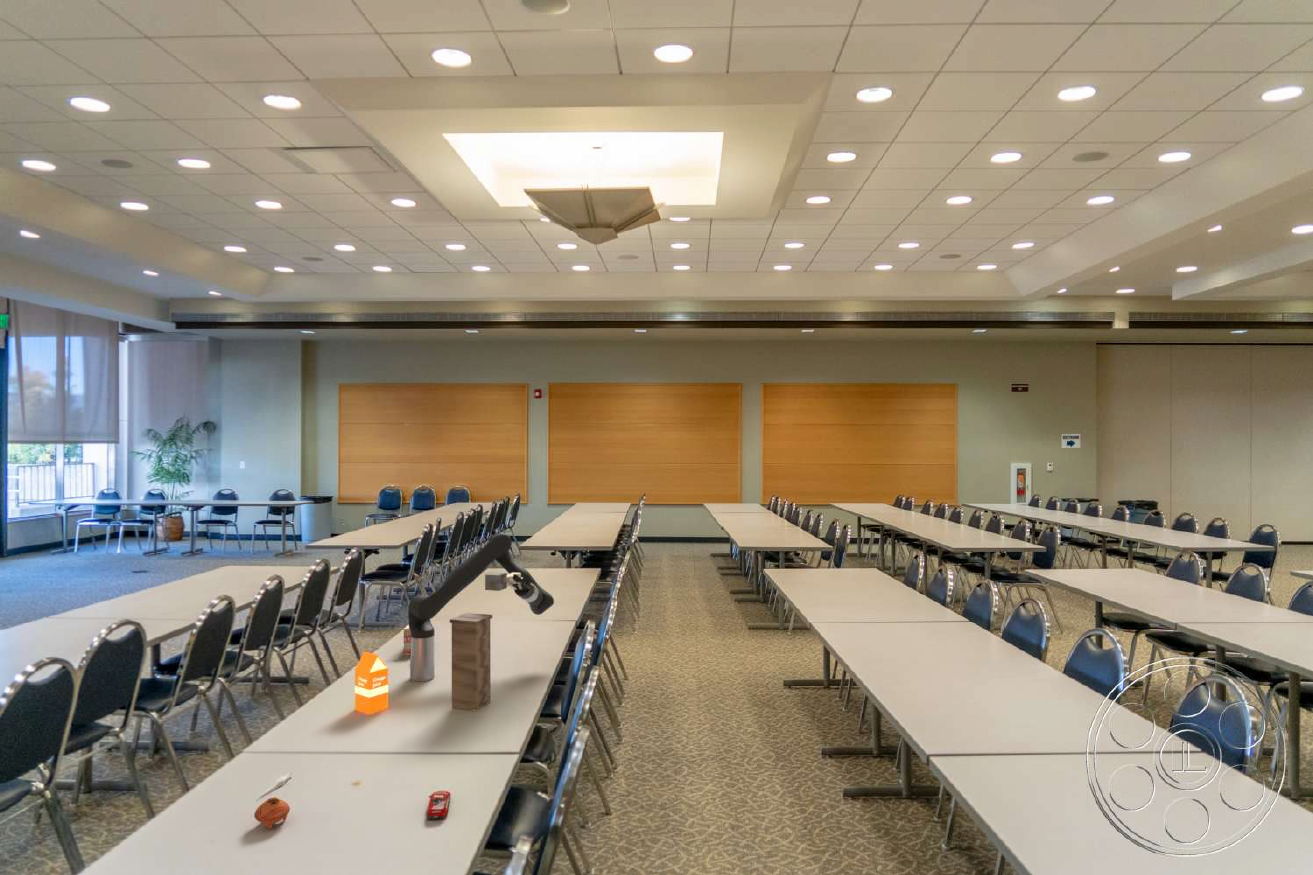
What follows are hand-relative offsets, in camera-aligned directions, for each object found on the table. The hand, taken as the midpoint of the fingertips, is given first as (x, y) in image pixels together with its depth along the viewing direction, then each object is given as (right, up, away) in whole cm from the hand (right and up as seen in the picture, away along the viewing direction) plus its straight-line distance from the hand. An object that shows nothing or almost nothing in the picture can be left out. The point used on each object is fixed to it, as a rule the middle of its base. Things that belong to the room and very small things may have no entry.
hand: (509, 576), depth 304 cm
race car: (+2, -42, -106) cm, 114 cm away
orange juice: (-44, -42, -31) cm, 68 cm away
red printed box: (-52, -43, +48) cm, 83 cm away
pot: (-38, -42, -114) cm, 127 cm away
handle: (-1, -3, -3) cm, 5 cm away
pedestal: (-9, -42, -27) cm, 51 cm away
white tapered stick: (-47, -42, -93) cm, 113 cm away
